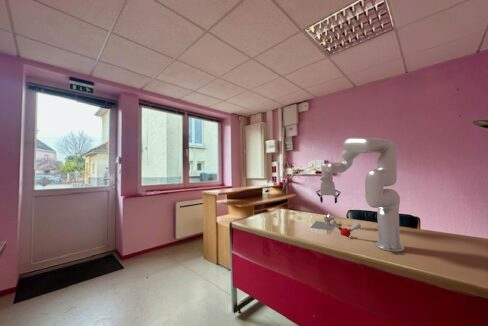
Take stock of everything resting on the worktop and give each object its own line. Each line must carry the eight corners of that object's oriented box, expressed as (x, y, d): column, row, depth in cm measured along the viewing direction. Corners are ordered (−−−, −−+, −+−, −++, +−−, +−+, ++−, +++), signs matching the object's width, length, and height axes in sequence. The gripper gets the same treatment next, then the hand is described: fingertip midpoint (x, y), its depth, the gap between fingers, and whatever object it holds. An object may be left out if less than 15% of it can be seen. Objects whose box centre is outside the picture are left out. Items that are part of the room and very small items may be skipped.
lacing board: (332, 232, 136) (332, 230, 136) (309, 229, 144) (309, 227, 144) (337, 225, 153) (336, 223, 153) (316, 222, 161) (316, 221, 161)
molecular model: (329, 235, 130) (329, 220, 131) (332, 233, 135) (331, 218, 135) (360, 241, 119) (359, 224, 119) (362, 238, 123) (361, 222, 124)
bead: (333, 225, 146) (332, 218, 147) (323, 224, 150) (323, 218, 150) (334, 223, 152) (334, 216, 152) (325, 222, 155) (325, 216, 155)
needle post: (330, 224, 149) (330, 213, 150) (327, 224, 151) (327, 213, 151) (331, 224, 151) (330, 213, 151) (328, 223, 152) (327, 213, 152)
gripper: (314, 180, 153) (315, 203, 152) (339, 180, 144) (340, 204, 143) (316, 179, 159) (317, 201, 159) (340, 179, 150) (342, 202, 149)
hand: (328, 202), depth 151 cm, fingers open, 9 cm apart
